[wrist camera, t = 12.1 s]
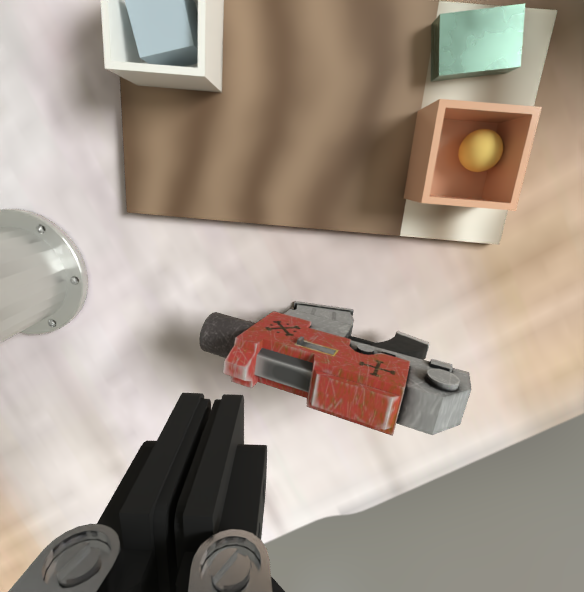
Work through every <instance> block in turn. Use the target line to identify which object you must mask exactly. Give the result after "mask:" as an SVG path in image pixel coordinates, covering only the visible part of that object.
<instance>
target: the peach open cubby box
mask: <svg viewBox="0 0 584 592" xmlns="http://www.w3.org/2000/svg"><path fill="white" fill-rule="evenodd" d="M541 108H542V107H536V106H523V105H511V104H498V103H486V102H473V101H461V100H448V99H439V100H437V101H435V102H433V103H431V104H430V105H428V106H426V107H424V108H422V109H421V110H419V111H418V112H417V118H416V124H415V130H414V137H413V143H412V149H411V155H410V161H409V167H408V174H407V180H406V186H405V192H404V199H408V200H412V201H416V202H419V203H427V204H439V205H452V206H464V207H476V208H488V209H501V210H513V211H516V208H517V204H518V200H519V196H520V192H521V188H522V184H523V180H524V176H525V172H526V168H527V164H528V160H529V156H530V152H531V148H532V144H533V140H534V136H535V132H536V128H537V124H538V120H539V116H540V112H541ZM479 129H490V130H493V131H495V132H496V133H497V134H498V135H499V136H500V137H501V139H502V141H503V153H502V156H501V158H500V160H499V161H498V162H497V164H495V165H494V166H493V167H492V168H490V169H488V170H486V171H482V172H473V171H469V170H467V169H466V168H465V167H463V165H462V164H461V162H460V160H459V155H458V153H459V147H460V145H461V143H462V141H463V140H464V138H465V137H466V136H467V135H469V134H470V133H472V132H474V131H476V130H479Z"/></svg>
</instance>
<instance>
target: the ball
mask: <svg viewBox="0 0 584 592" xmlns="http://www.w3.org/2000/svg"><path fill="white" fill-rule="evenodd" d="M502 153H503V141H502V139H501V137H500V136H499V135H498V134H497V133H496V132H495V131H493V130H490V129H479V130H476V131H474V132H472V133H470V134H469V135H467V136H466V137H465V138H464V140H463V141H462V143H461V145H460V147H459V153H458V155H459V160H460V162H461V164H462V165H463V167H465V168H466V169H467V170H469V171H473V172H482V171H486V170H488V169H490V168H492V167H493V166H494V165H495V164H497V162H498V161H499V160H500V158H501V156H502Z"/></svg>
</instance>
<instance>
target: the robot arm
mask: <svg viewBox="0 0 584 592" xmlns="http://www.w3.org/2000/svg"><path fill="white" fill-rule="evenodd" d="M87 290H88V276H87V271H86V267H85V263H84V261H83V259H82V256H81V254H80V252H79V250H78V249H77V247H76V246H75V244H74V243H73V241H72V240H71V239H70V238H69V237H68V235H67V234H66V233H65V232H64V231H63V230H62V229H60V228H59V227H58V226H57V225H55V224H54V223H53V222H51V221H49V220H48V219H46V218H44V217H43V216H40V215H38V214H35V213H32V212H30V211H25V210H20V209H2V210H0V343H1V342H3V341H5V340H7V339H9V338H10V337H12V336H14V335H16V334H18V333H23V334H44V333H50V332H52V331H55V330H57V329H60V328H61V327H63V326H64V325H66V324H68V323H69V322H70V321H71V320H73V319H74V318H75V317H76V316H77V314H78V313H79V312H80V310H81V309H82V307H83V305H84V302H85V300H86V296H87ZM266 469H267V445H244V397H243V395H225V394H224V395H223V396H222V399H221V400H218V399H216V400H215V401H214V404H213V407H212V409H211V401H210V399H204V395H203V394H200V393H182V394H181V396H180V398H179V400H178V402H177V404H176V405H175V407H174V409H173V411H172V413H171V415H170V417H169V419H168V421H167V423H166V425H165V426H164V428H163V430H162V432H161V434H160V436H159V438H158V440H157V441H146V442H144V443H143V445H142V446H141V447H140V449H139V451H138V453H137V454H136V456H135V458H134V460H133V461H132V463H131V465H130V467H129V468H128V470H127V472H126V474H125V475H124V477H123V479H122V481H121V482H120V484H119V486H118V488H117V489H116V491H115V493H114V495H113V496H112V498H111V500H110V502H109V503H108V505H107V507H106V509H105V510H104V512H103V514H102V516H101V517H100V519H99V521H98V523H97V524H88V525H83V526H79V527H76V528H74V529H72V530H69V531H67V532H65V533H64V534H62V535H61V536H59V537H58V538H56V539H55V540H53V541H52V542H51V543H50V544H49V545H48V546H47V547H46V548H45V549H44V550H43V551H42V552H41V553H40V555H39V556H38V557H37V558H36V559H35V560H34V562H33V563H32V564H31V565H30V566H29V568H28V569H27V570H26V571H25V572H24V574H23V575H22V576H21V577H20V578H19V580H18V581H17V582H16V583H15V584H14V585H13V587H12V588H11V589H10V590H9V591H8V592H285V591H284V590H283V589H282V588H281V587H280V586H279V585H278V583H277V582H276V581H275V580H274V579H273V578H272V577H271V571H270V560H269V556H268V552H267V548H266V547H265V545H264V544H263V542H262V541H261V534H262V523H263V513H264V503H265V490H266Z"/></svg>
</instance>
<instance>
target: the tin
mask: <svg viewBox="0 0 584 592" xmlns="http://www.w3.org/2000/svg"><path fill="white" fill-rule="evenodd" d="M524 15H525V4H517V5H509V6H501V7H493V8H485V9H476V10H468V11H460V12H452V13H443V14H439V16H438V17H437V18H436V19H435V20H434V22H433V23H432V24H431V82H433V81H442V80H451V79H460V78H469V77H478V76H487V75H496V74H505V73H509V72H511V71H513V70H515V69H517V68H519V67H521V55H522V42H523V28H524Z"/></svg>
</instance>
